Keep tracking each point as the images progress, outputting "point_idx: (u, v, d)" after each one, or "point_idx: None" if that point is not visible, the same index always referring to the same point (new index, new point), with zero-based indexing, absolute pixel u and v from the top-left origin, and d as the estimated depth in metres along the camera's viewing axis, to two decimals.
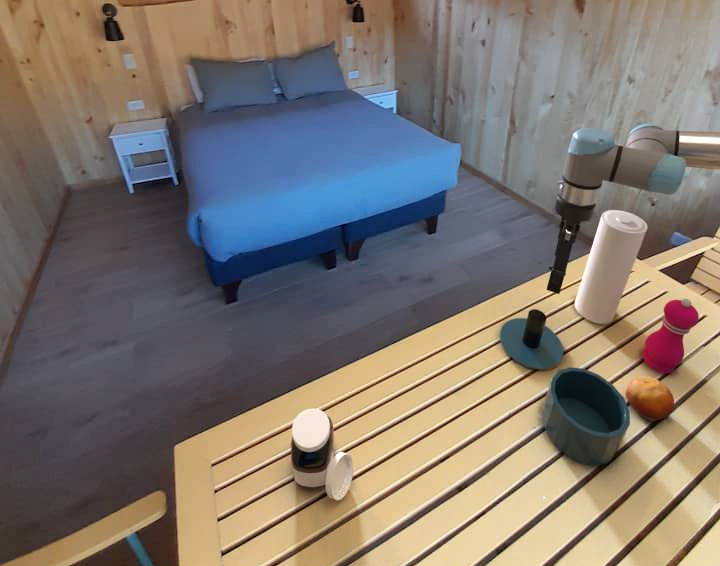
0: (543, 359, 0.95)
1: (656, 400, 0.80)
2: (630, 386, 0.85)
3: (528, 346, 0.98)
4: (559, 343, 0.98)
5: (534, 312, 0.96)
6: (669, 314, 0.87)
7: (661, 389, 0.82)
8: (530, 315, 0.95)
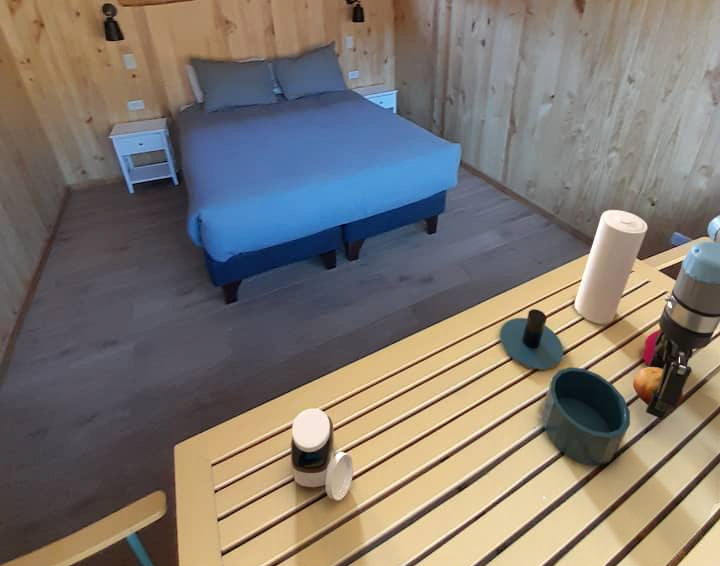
0: (543, 359, 0.95)
1: None
2: (637, 377, 0.83)
3: (528, 346, 0.98)
4: (559, 343, 0.98)
5: (534, 312, 0.96)
6: None
7: None
8: (530, 315, 0.95)
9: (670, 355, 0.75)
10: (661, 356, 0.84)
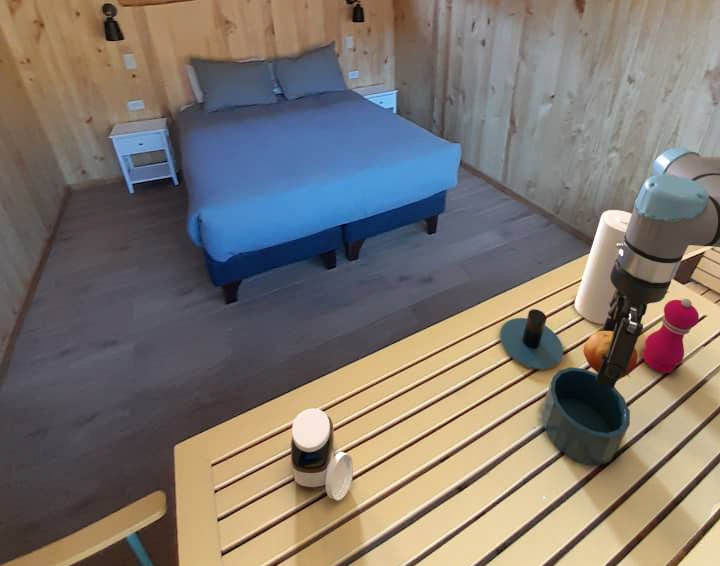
0: (543, 359, 0.95)
1: None
2: (588, 341, 0.73)
3: (528, 346, 0.98)
4: (559, 343, 0.98)
5: (534, 312, 0.96)
6: (669, 314, 0.87)
7: None
8: (530, 315, 0.95)
9: (621, 312, 0.65)
10: None
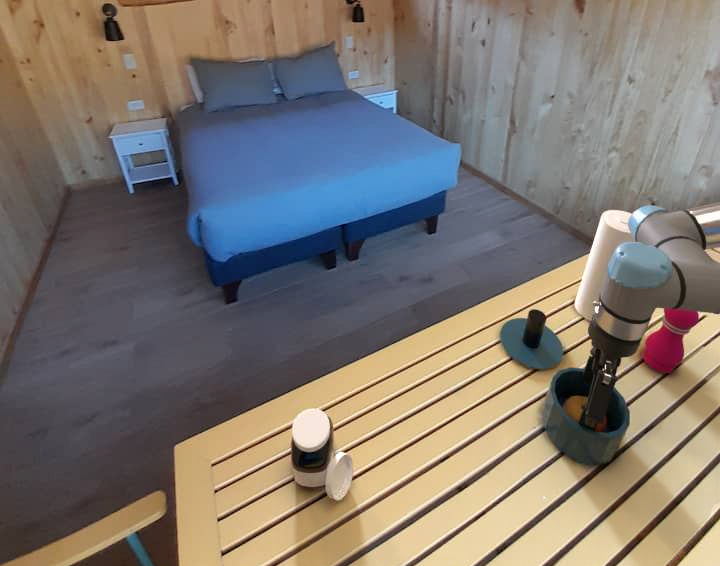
0: (543, 359, 0.95)
1: None
2: (563, 406, 0.81)
3: (528, 346, 0.98)
4: (559, 343, 0.98)
5: (534, 312, 0.96)
6: (669, 314, 0.87)
7: None
8: (530, 315, 0.95)
9: (598, 363, 0.70)
10: None
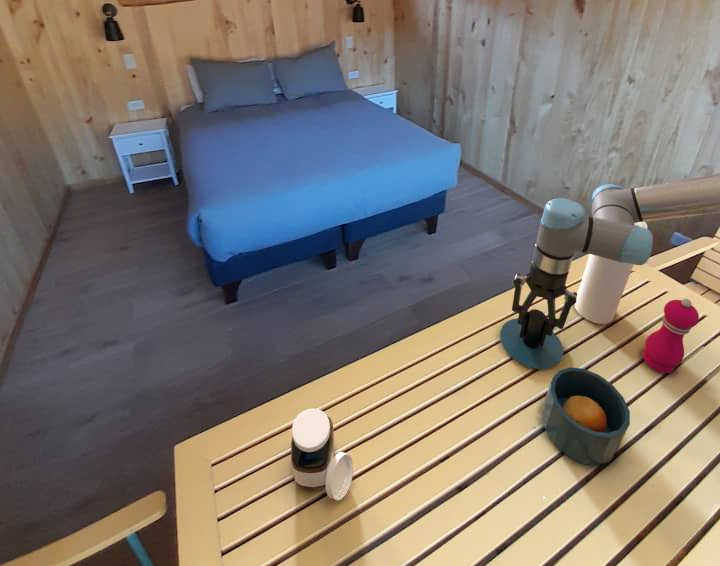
0: (543, 359, 0.95)
1: (586, 422, 0.76)
2: (563, 406, 0.81)
3: (528, 346, 0.98)
4: (559, 343, 0.98)
5: (534, 312, 0.96)
6: (669, 314, 0.87)
7: (592, 409, 0.78)
8: (530, 315, 0.95)
9: None
10: (548, 321, 0.94)
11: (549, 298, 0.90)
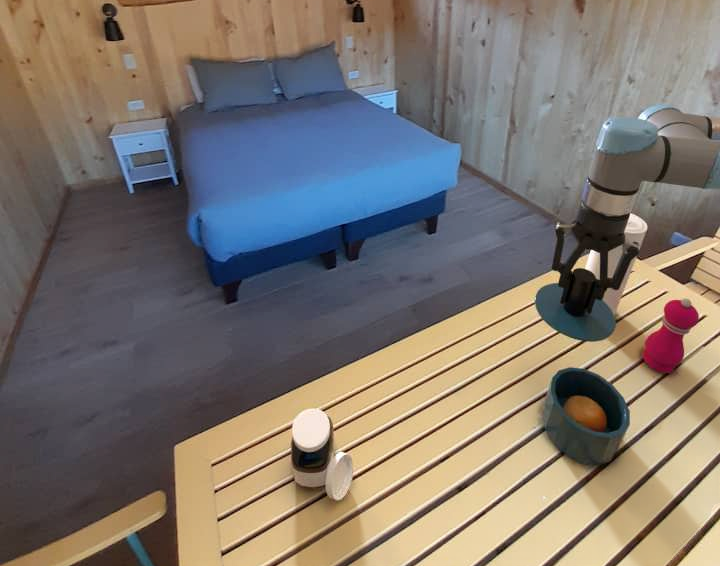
0: (592, 329, 0.76)
1: (586, 422, 0.76)
2: (563, 406, 0.81)
3: (571, 315, 0.79)
4: (609, 311, 0.80)
5: (580, 271, 0.77)
6: (669, 314, 0.87)
7: (592, 409, 0.78)
8: (575, 274, 0.77)
9: None
10: (599, 282, 0.75)
11: (603, 250, 0.71)
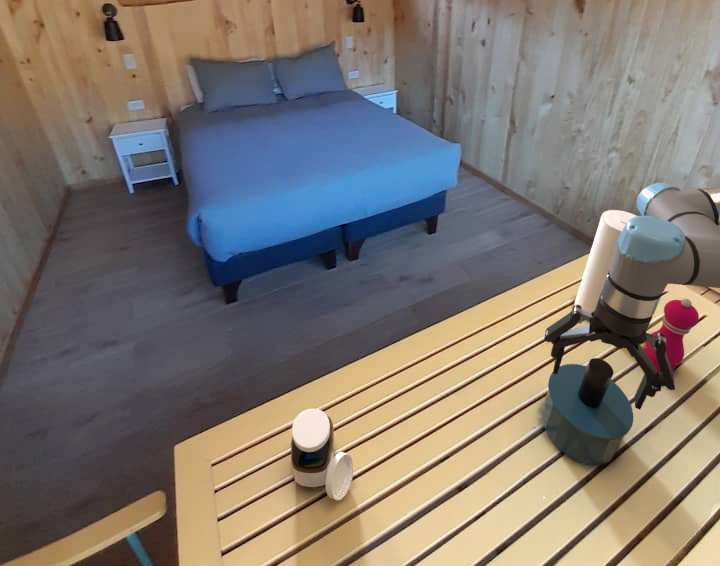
0: (609, 424, 0.73)
1: None
2: None
3: (586, 405, 0.76)
4: (626, 400, 0.77)
5: (596, 363, 0.74)
6: (669, 314, 0.87)
7: None
8: (591, 367, 0.73)
9: None
10: None
11: (628, 347, 0.67)
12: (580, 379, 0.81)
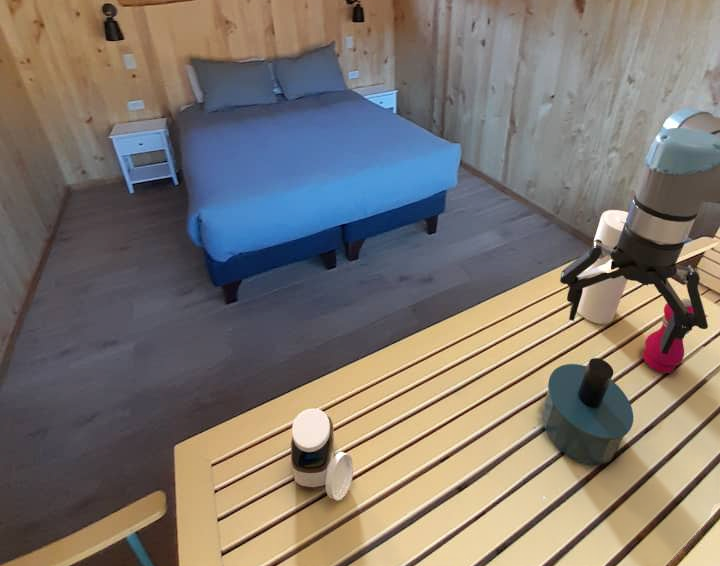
0: (609, 424, 0.73)
1: None
2: None
3: (586, 405, 0.76)
4: (626, 400, 0.77)
5: (596, 363, 0.74)
6: (669, 314, 0.87)
7: None
8: (591, 367, 0.73)
9: None
10: None
11: (656, 282, 0.60)
12: (580, 379, 0.81)
